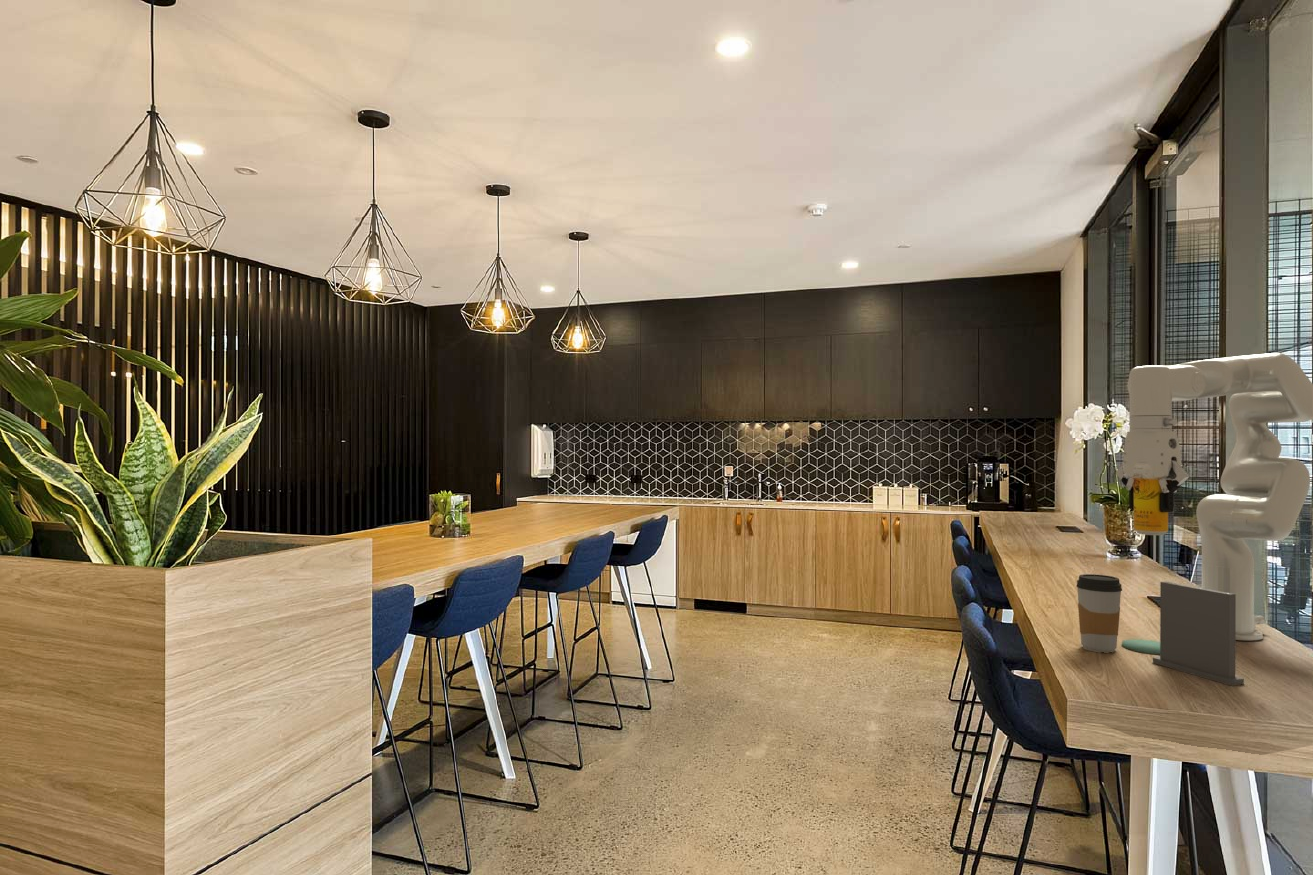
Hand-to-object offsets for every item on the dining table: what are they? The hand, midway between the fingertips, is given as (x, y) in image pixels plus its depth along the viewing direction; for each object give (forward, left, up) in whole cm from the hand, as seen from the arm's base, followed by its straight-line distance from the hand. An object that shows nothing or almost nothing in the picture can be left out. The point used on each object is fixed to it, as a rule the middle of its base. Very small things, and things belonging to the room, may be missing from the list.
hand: (1150, 509), depth 161 cm
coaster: (0, 0, -29) cm, 29 cm away
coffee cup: (+11, -3, -29) cm, 31 cm away
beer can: (0, 0, -5) cm, 5 cm away
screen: (+8, +15, -29) cm, 34 cm away
